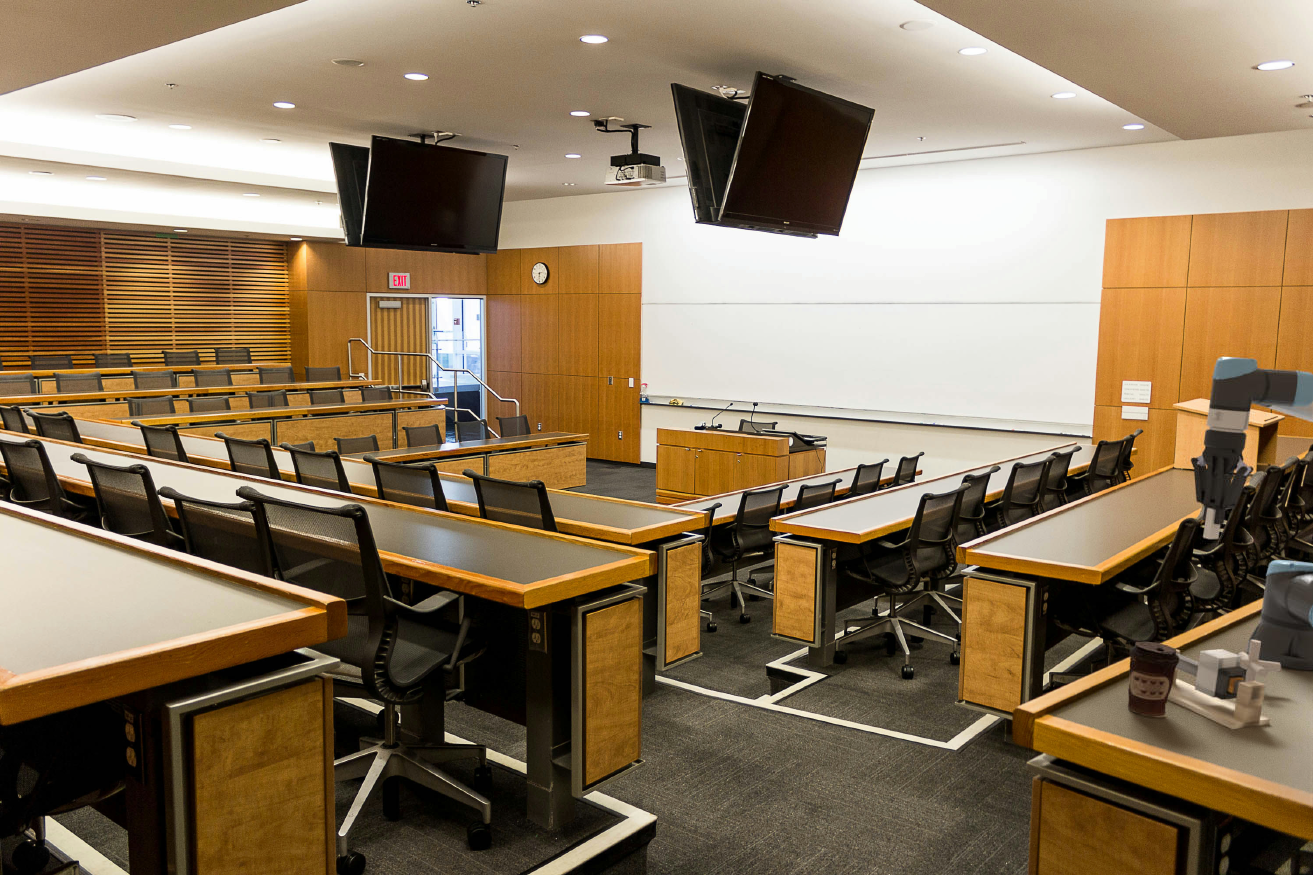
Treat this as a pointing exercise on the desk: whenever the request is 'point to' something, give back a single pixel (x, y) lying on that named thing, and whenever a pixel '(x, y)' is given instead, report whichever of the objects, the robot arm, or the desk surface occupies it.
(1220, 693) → the dark grey block
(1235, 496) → the robot arm
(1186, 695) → the pipe rig
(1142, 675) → the coffee cup
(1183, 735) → the desk surface
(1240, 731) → the desk surface
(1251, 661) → the pipe connector
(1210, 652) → the sleeve
